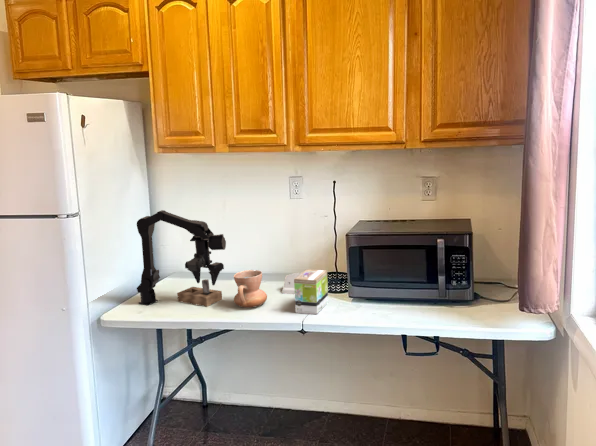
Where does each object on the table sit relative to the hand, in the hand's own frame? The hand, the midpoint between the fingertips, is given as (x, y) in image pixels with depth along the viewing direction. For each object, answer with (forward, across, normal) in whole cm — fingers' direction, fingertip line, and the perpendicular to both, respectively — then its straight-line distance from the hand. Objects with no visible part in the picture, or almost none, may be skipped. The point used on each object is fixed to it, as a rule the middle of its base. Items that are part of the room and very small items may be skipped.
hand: (206, 284), depth 244 cm
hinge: (+9, +32, +28) cm, 44 cm away
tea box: (+9, +48, +12) cm, 51 cm away
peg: (+8, 0, 0) cm, 8 cm away
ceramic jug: (+8, +21, +4) cm, 23 cm away
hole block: (+8, -5, 0) cm, 9 cm away
